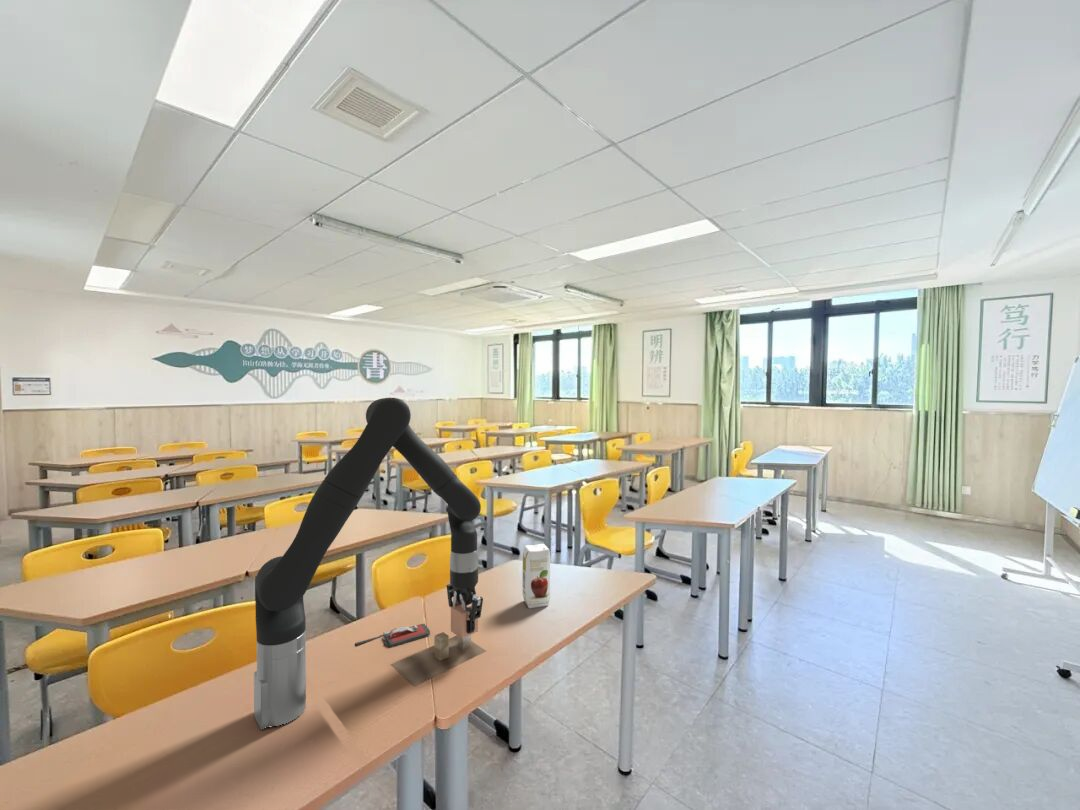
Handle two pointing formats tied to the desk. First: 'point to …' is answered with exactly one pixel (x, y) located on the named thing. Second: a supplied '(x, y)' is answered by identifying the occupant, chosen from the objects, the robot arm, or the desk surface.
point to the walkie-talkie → (401, 635)
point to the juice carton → (536, 575)
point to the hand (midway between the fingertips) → (464, 628)
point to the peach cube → (460, 621)
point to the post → (464, 642)
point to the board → (435, 659)
